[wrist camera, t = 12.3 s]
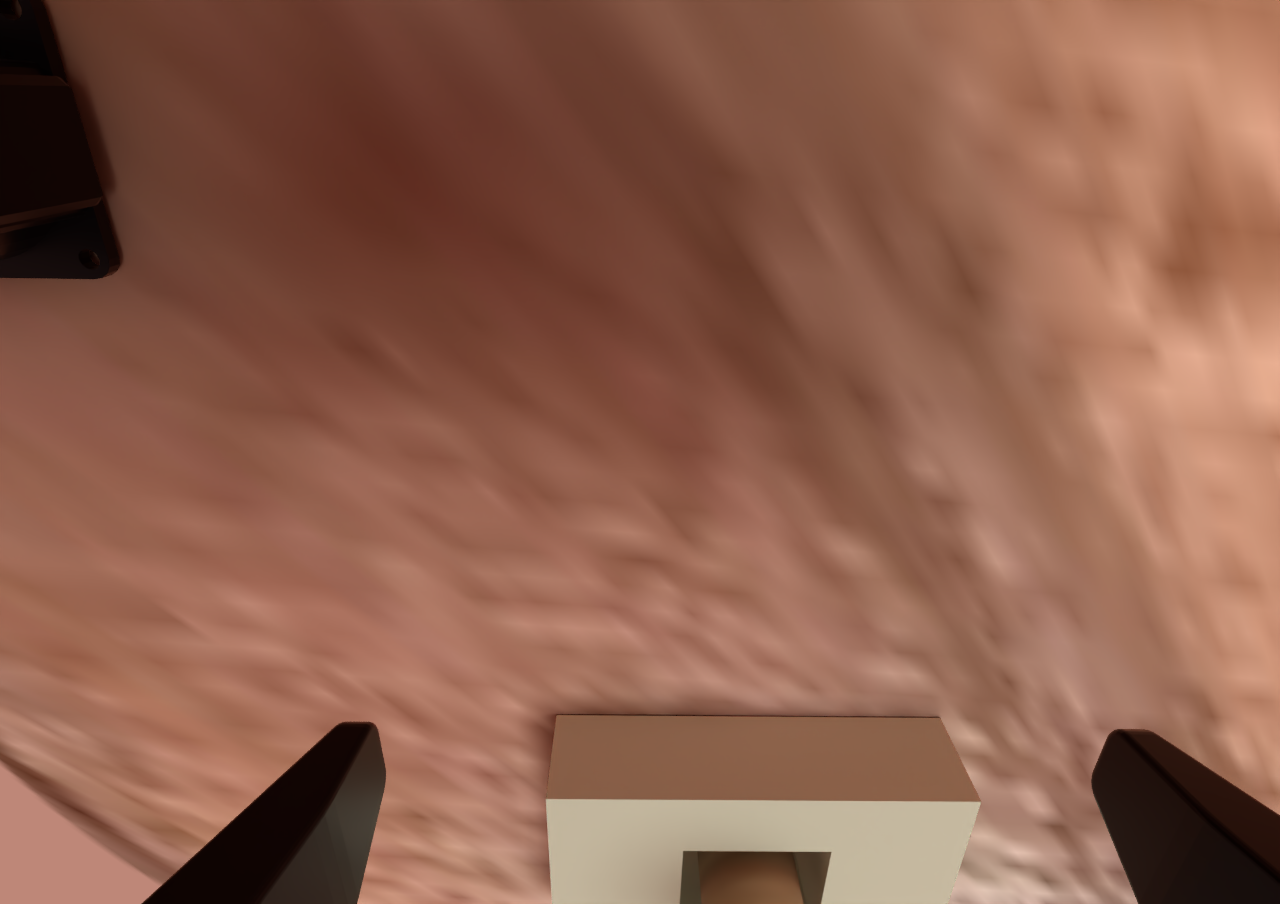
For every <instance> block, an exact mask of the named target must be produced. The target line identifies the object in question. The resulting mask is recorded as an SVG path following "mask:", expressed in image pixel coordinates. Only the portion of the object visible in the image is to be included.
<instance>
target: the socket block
mask: <svg viewBox="0 0 1280 904" xmlns="http://www.w3.org/2000/svg"><path fill="white" fill-rule="evenodd" d="M980 804H981V800H980V798H979V796H978V794H977V792H976V790H975V788H974V786H973V784H972V782H971V780H970V778H969V776H968V774H967V772H966V769H965V767H964V765H963V763H962V761H961V759H960V757H959V755H958V753H957V751H956V749H955V747H954V745H953V743H952V741H951V739H950V737H949V735H948V733H947V731H946V729H945V727H944V725H943V722H942V720H941V718H883V717H753V716H622V715H556V722H555V730H554V738H553V746H552V753H551V761H550V769H549V777H548V785H547V792H546V813H547V830H548V846H549V862H550V879H551V895H552V904H702V903H701V890H700V878H699V866H698V853H697V851H772V852H793V856H794V860H795V865H796V870H797V875H798V880H799V885H800V889H801V894H802V899H803V904H948V902H949V899H950V896H951V893H952V890H953V887H954V884H955V881H956V878H957V875H958V872H959V869H960V865H961V862H962V859H963V856H964V853H965V850H966V847H967V844H968V841H969V838H970V835H971V832H972V829H973V826H974V823H975V820H976V817H977V814H978V811H979V807H980Z"/></svg>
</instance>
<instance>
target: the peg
mask: <svg viewBox="0 0 1280 904" xmlns="http://www.w3.org/2000/svg"><path fill="white" fill-rule="evenodd" d="M697 853H698V866H699V878H700V890H701V903H702V904H803V899H802V894H801V889H800V885H799V880H798V875H797V870H796V865H795V860H794V856H793V852H772V851H697Z"/></svg>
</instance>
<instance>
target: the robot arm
mask: <svg viewBox="0 0 1280 904" xmlns="http://www.w3.org/2000/svg"><path fill="white" fill-rule="evenodd" d="M11 1H12V0H0V278H58V279H98V278H103V277H106V276H109V275H112V274H113V273H115V272H116V271H117V270H118V267H119V265H120V261H119V255H118V251H117V248H116V245H115V241H114V238H113V234H112V231H111V228H110V224H109V221H108V218H107V214H106V211H105V207H104V204H103V201H102V195H103V194H102V190H101V187H100V183H99V180H98V176H97V173H96V170H95V166H94V163H93V160H92V156H91V153H90V149H89V146H88V143H87V139H86V136H85V132H84V129H83V126H82V122H81V119H80V116H79V112H78V109H77V105H76V102H75V99H74V95H73V92H72V89H71V88H70V87H69V86H68V83H67V80H66V76H65V73H64V69H63V66H62V63H61V59H60V56H59V53H58V49H57V46H56V43H55V39H54V36H53V32H52V29H51V26H50V22H49V19H48V16H47V12H46V9H45V7H44V5H43V3H42V0H18V2H19V4H20V5H21V8H22V15H21V16H20V18H18V17H17V16H16V15H15V14H14V12H13V10H12V7H11ZM90 250H92V251H93V252H94V253H95V254H97V256H98V258H99V260H100V265H97V264H95V263H94V262H93V261H92V259H91V258H90V255H89V251H90ZM385 781H386V768H385V763H384V758H383V753H382V748H381V742H380V737H379V732H378V729H377V727H376V725H375V724H374V723H371V722H342V723H340V724H338V725H336V726H335V727H334V728H333V729H332V730H331V731H330V732H329V733H327V734H326V735H325V736H324V737H323V738H322V739H321V740H320V741H319V742H318V743H316V744H315V745H314V746H313V747H312V748H311V749H310V750H309V751H308V752H307V753H306V754H304V755H303V756H302V757H301V758H300V759H299V760H298V761H297V762H296V763H295V764H294V765H292V766H291V767H290V768H289V769H288V770H287V771H286V772H285V773H284V774H283V775H282V776H280V777H279V778H278V779H277V780H276V781H275V782H274V783H273V784H272V785H271V786H270V787H268V788H267V789H266V790H265V791H264V792H263V793H262V794H261V795H260V796H259V797H258V798H256V799H255V800H254V801H253V802H252V803H251V804H250V805H249V806H248V807H247V808H246V809H244V810H243V811H242V812H241V813H240V814H239V815H238V816H237V817H236V818H235V819H234V820H232V821H231V822H230V823H229V824H228V825H227V826H226V827H225V828H224V829H223V830H222V831H220V832H219V833H218V834H217V835H216V836H215V837H214V838H213V839H212V840H211V841H210V842H208V843H207V844H206V845H205V846H204V847H203V848H202V849H201V850H200V851H199V852H198V853H196V854H195V855H194V856H193V857H192V858H191V859H190V860H189V861H188V862H187V863H186V864H184V865H183V866H182V867H181V868H180V869H179V870H178V871H177V872H176V873H175V874H174V875H172V876H171V877H170V878H169V879H168V880H167V881H166V882H165V883H164V884H163V885H162V886H160V887H159V888H158V889H157V890H156V891H155V892H154V893H153V894H152V895H151V896H150V897H149V898H147V899H146V900H145V901H144V902H143V903H142V904H357V902H358V898H359V894H360V889H361V885H362V881H363V877H364V873H365V868H366V864H367V860H368V856H369V852H370V847H371V843H372V839H373V835H374V831H375V826H376V822H377V818H378V814H379V810H380V805H381V801H382V797H383V793H384V788H385ZM1091 782H1092V790H1093V794H1094V797H1095V800H1096V802H1097V805H1098V807H1099V809H1100V812H1101V814H1102V817H1103V819H1104V822H1105V824H1106V826H1107V829H1108V831H1109V834H1110V836H1111V839H1112V841H1113V843H1114V846H1115V848H1116V851H1117V853H1118V856H1119V858H1120V860H1121V863H1122V865H1123V868H1124V870H1125V873H1126V875H1127V877H1128V880H1129V882H1130V885H1131V887H1132V890H1133V892H1134V894H1135V897H1136V899H1137V902H1138V904H1280V815H1279V814H1277V813H1276V812H1274V811H1273V810H1271V809H1269V808H1268V807H1266V806H1265V805H1263V804H1262V803H1260V802H1259V801H1257V800H1256V799H1254V798H1253V797H1251V796H1250V795H1248V794H1247V793H1245V792H1244V791H1242V790H1241V789H1239V788H1238V787H1236V786H1235V785H1233V784H1232V783H1230V782H1229V781H1227V780H1226V779H1224V778H1222V777H1221V776H1219V775H1218V774H1216V773H1215V772H1213V771H1212V770H1210V769H1209V768H1207V767H1206V766H1204V765H1203V764H1201V763H1200V762H1198V761H1197V760H1195V759H1194V758H1192V757H1191V756H1189V755H1188V754H1186V753H1185V752H1183V751H1182V750H1180V749H1179V748H1177V747H1176V746H1174V745H1172V744H1171V743H1169V742H1168V741H1166V740H1165V739H1163V738H1162V737H1160V736H1159V735H1157V734H1155V733H1154V732H1151V731H1149V730H1144V729H1117V730H1114V731H1112V732H1111V733H1110V734H1109V735H1108V737H1107V739H1106V742H1105V744H1104V746H1103V749H1102V751H1101V754H1100V756H1099V758H1098V761H1097V763H1096V766H1095V768H1094V770H1093V773H1092V780H1091Z"/></svg>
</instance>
